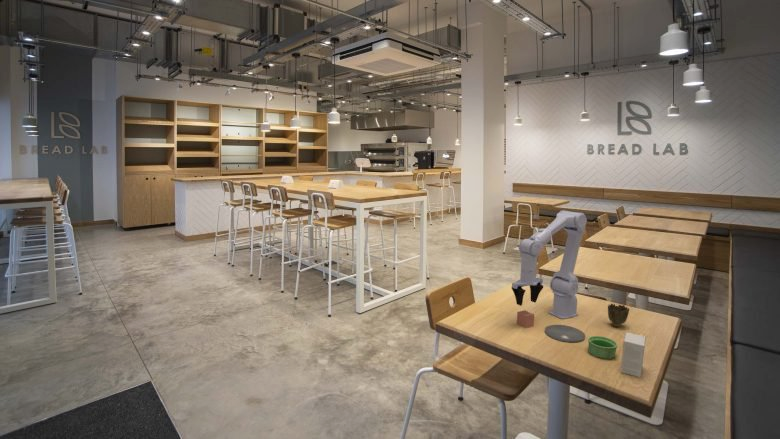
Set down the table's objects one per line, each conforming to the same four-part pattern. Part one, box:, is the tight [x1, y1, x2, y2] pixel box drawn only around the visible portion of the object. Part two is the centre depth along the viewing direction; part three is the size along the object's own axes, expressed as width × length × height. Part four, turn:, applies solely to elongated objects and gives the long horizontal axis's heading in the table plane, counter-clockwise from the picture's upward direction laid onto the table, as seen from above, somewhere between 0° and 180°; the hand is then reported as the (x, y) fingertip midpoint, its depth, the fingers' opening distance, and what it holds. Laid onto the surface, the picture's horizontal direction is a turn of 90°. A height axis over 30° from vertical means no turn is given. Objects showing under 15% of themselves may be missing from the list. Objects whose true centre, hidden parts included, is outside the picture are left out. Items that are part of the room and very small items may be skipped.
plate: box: [544, 324, 586, 344], centre depth 153 cm, size 14×14×1 cm
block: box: [516, 309, 535, 329], centre depth 161 cm, size 4×5×5 cm
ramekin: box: [587, 335, 618, 360], centre depth 138 cm, size 9×9×4 cm
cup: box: [607, 303, 630, 328], centre depth 160 cm, size 8×7×8 cm
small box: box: [620, 332, 647, 378], centre depth 127 cm, size 8×6×10 cm
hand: (526, 303), depth 160 cm, fingers open, 7 cm apart
